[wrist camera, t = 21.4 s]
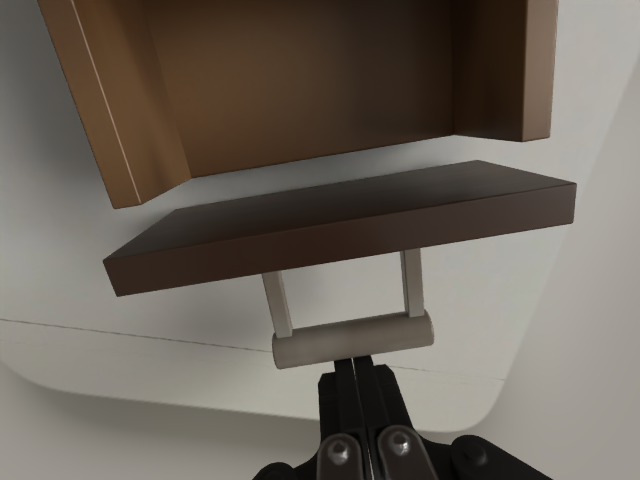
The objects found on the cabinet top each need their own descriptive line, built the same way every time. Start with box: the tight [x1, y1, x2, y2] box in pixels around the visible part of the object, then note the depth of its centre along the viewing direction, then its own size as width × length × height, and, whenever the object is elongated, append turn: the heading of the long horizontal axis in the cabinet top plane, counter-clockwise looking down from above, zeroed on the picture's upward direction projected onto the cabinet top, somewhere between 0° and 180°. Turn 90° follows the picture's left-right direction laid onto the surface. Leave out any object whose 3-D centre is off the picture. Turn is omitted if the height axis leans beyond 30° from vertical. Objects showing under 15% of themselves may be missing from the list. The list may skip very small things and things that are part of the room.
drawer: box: [37, 0, 577, 369], centre depth 11 cm, size 19×13×6 cm
